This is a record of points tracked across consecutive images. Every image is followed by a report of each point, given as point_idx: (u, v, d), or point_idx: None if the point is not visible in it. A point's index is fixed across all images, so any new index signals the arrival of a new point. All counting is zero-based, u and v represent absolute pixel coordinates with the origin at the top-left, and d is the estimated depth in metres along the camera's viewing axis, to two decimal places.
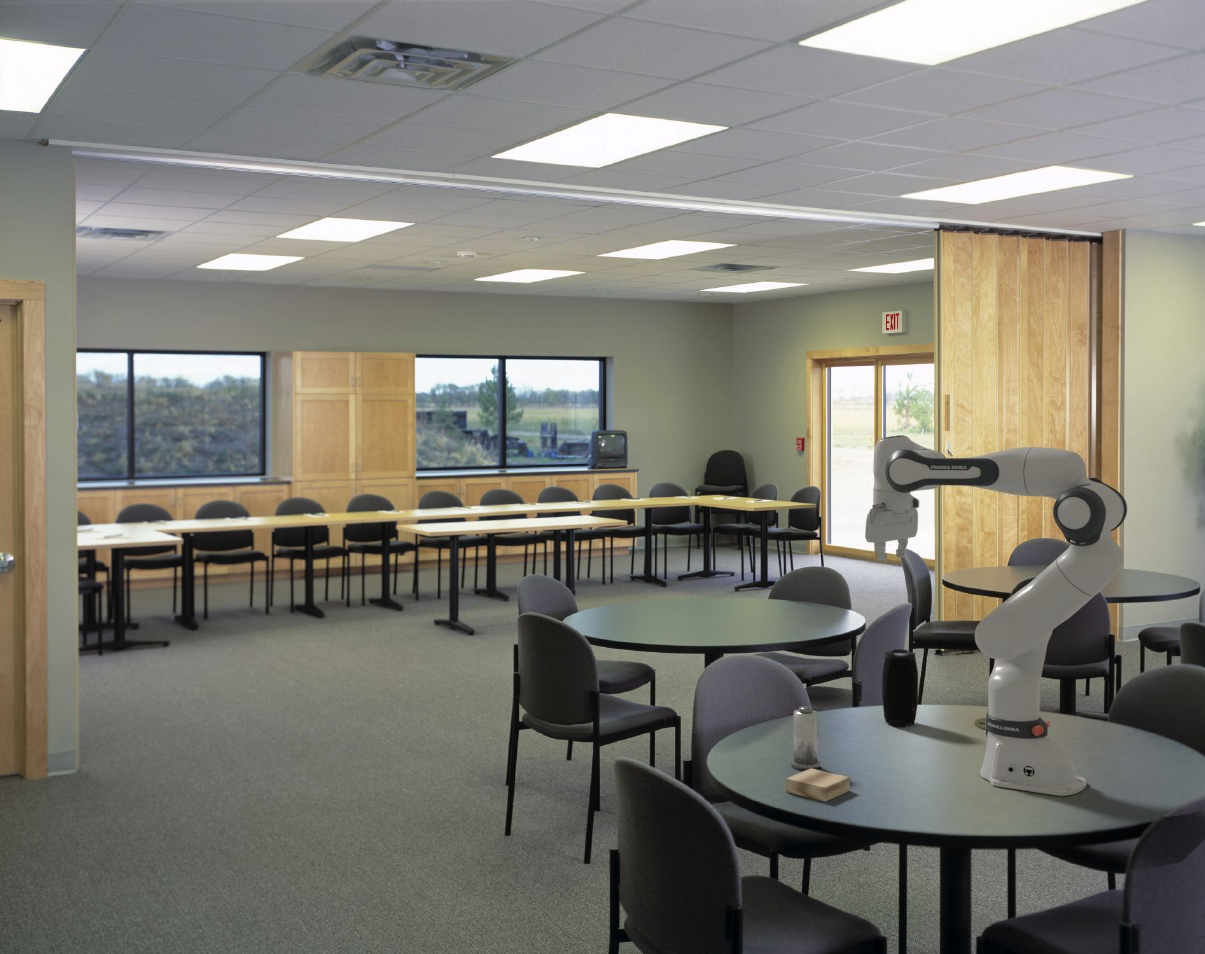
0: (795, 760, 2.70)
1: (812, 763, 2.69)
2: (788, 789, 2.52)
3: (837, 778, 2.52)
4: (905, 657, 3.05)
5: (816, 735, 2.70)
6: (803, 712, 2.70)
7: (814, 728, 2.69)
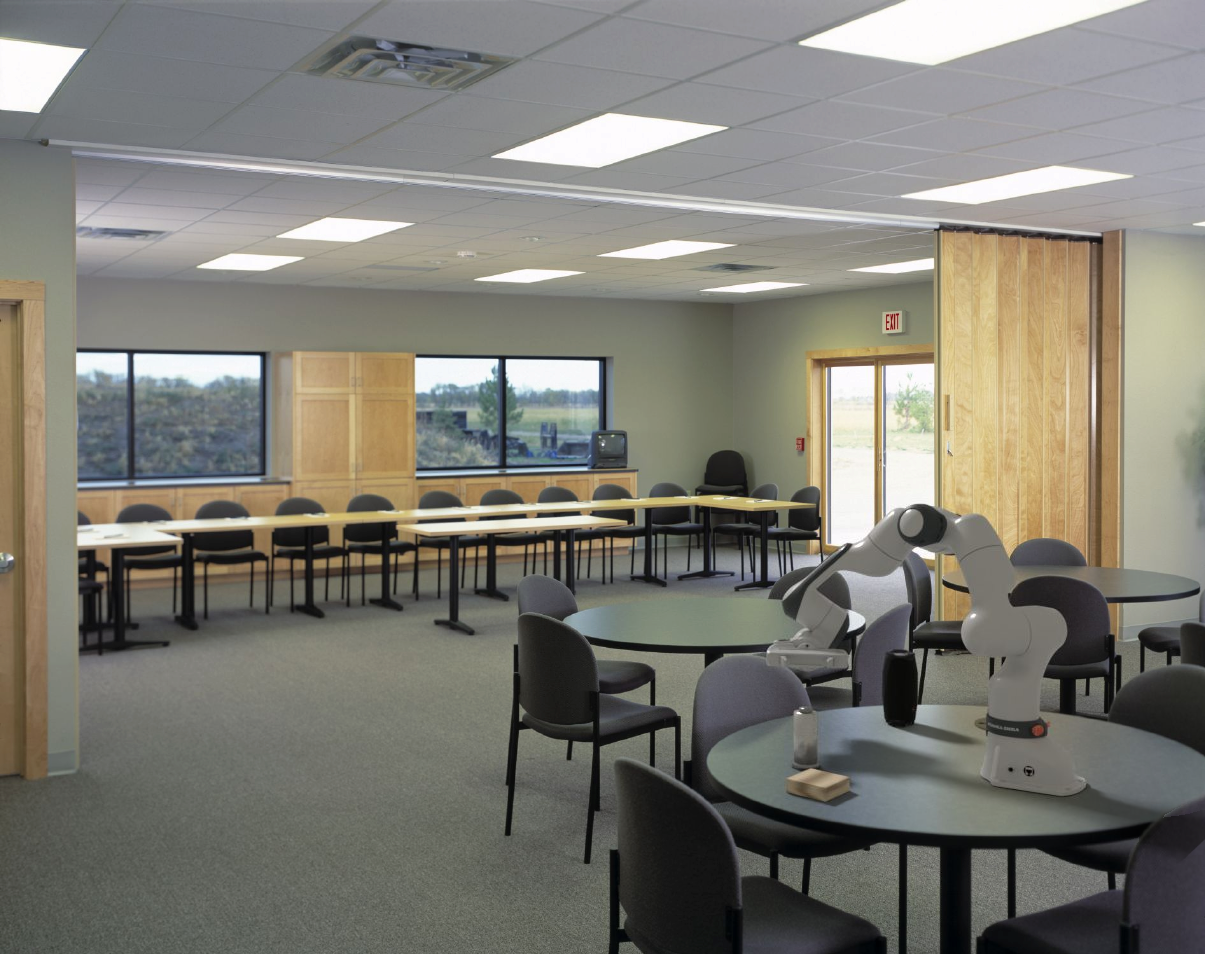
0: (795, 760, 2.70)
1: (812, 763, 2.69)
2: (788, 789, 2.52)
3: (837, 778, 2.52)
4: (905, 657, 3.05)
5: (816, 735, 2.70)
6: (803, 712, 2.70)
7: (814, 728, 2.69)
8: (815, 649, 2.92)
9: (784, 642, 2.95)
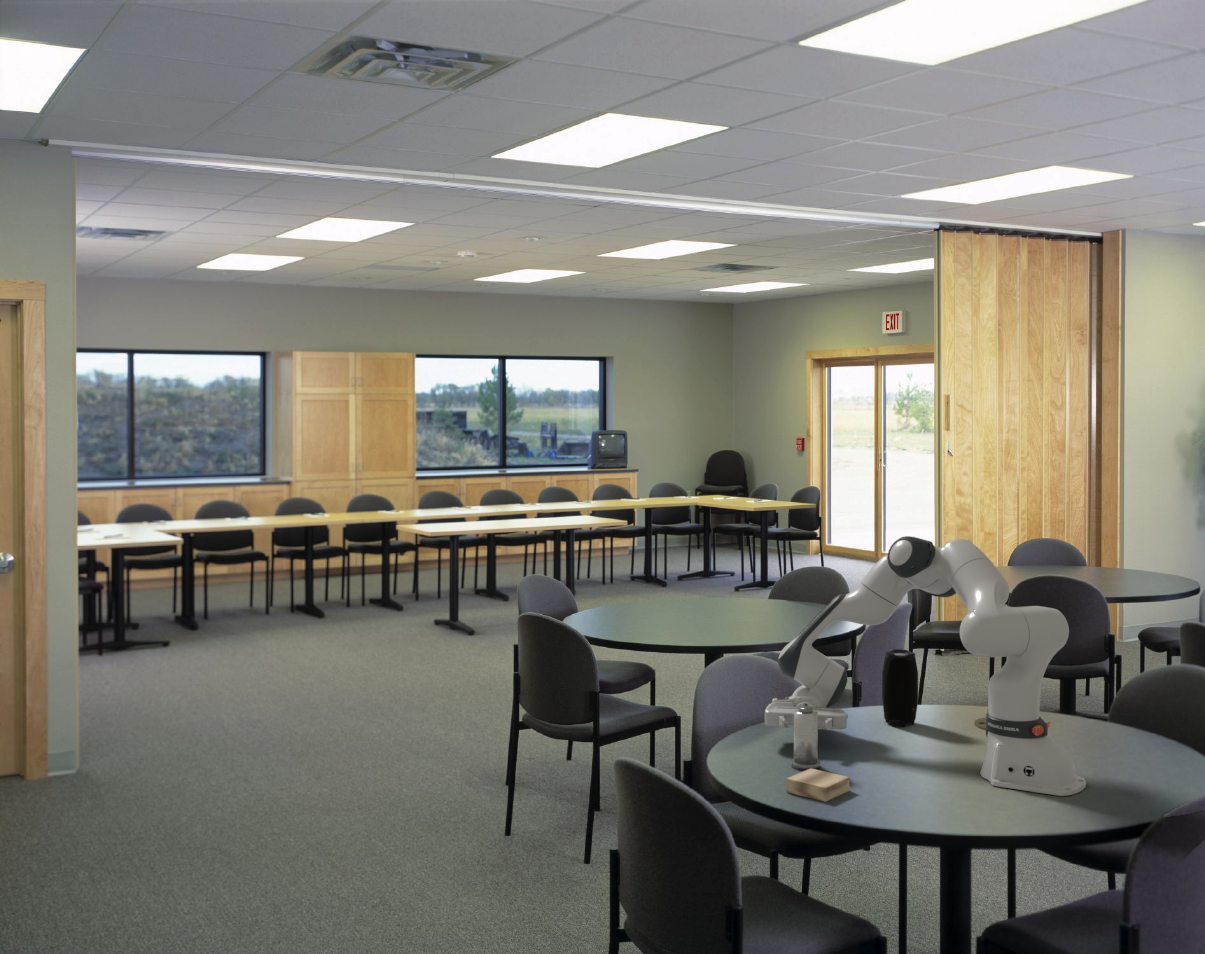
0: (795, 760, 2.70)
1: (812, 763, 2.69)
2: (788, 789, 2.52)
3: (837, 778, 2.52)
4: (905, 657, 3.05)
5: (816, 735, 2.70)
6: (803, 712, 2.69)
7: (814, 728, 2.69)
8: (814, 708, 2.89)
9: (783, 701, 2.93)
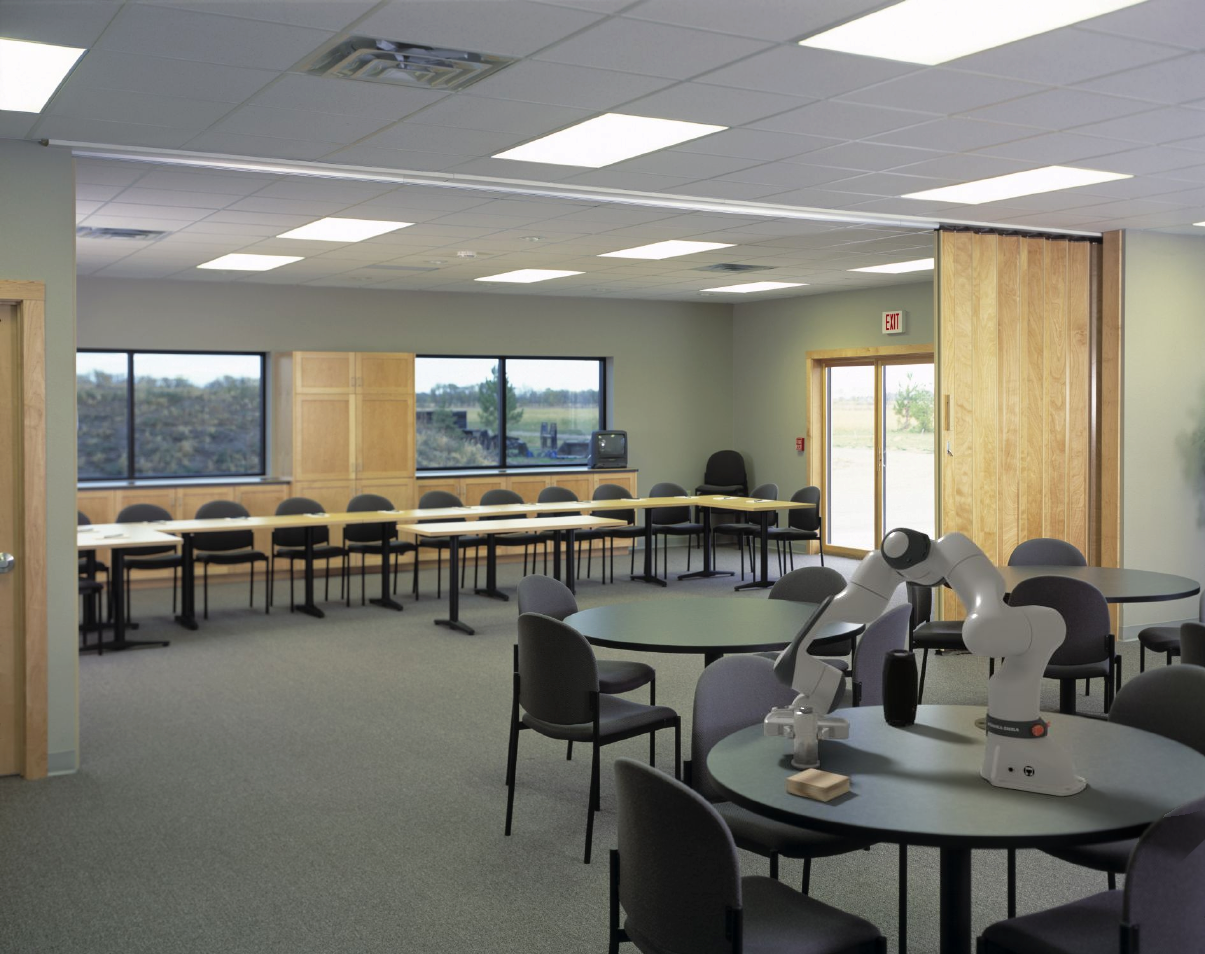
0: (795, 760, 2.70)
1: (812, 763, 2.69)
2: (788, 789, 2.52)
3: (837, 778, 2.52)
4: (905, 657, 3.05)
5: (816, 735, 2.70)
6: (803, 712, 2.70)
7: (814, 728, 2.69)
8: None
9: (782, 710, 2.83)
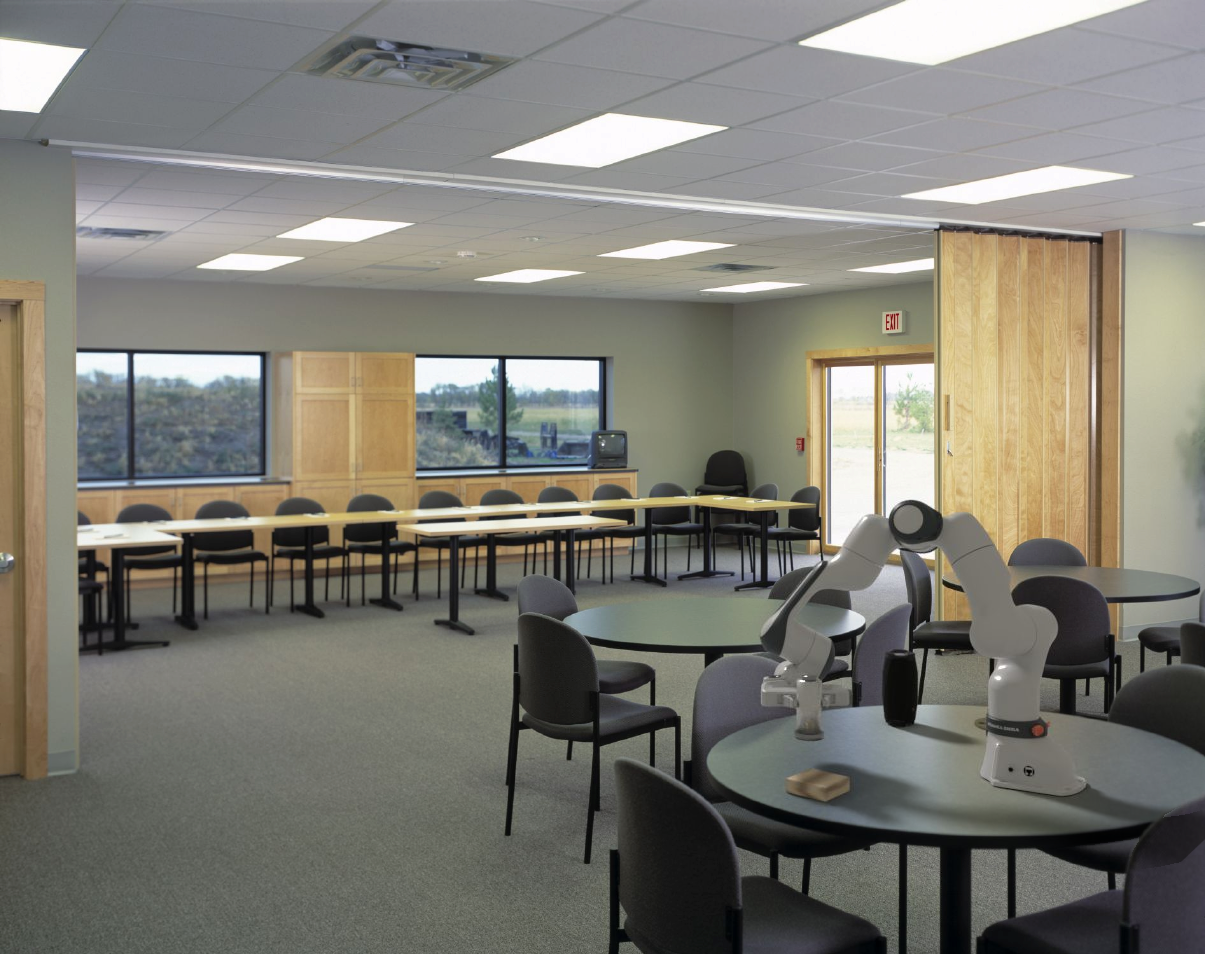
0: (799, 731, 2.59)
1: (818, 733, 2.58)
2: (788, 789, 2.52)
3: (837, 778, 2.52)
4: (905, 657, 3.05)
5: (821, 703, 2.59)
6: (808, 680, 2.58)
7: (820, 696, 2.58)
8: None
9: (776, 679, 2.71)
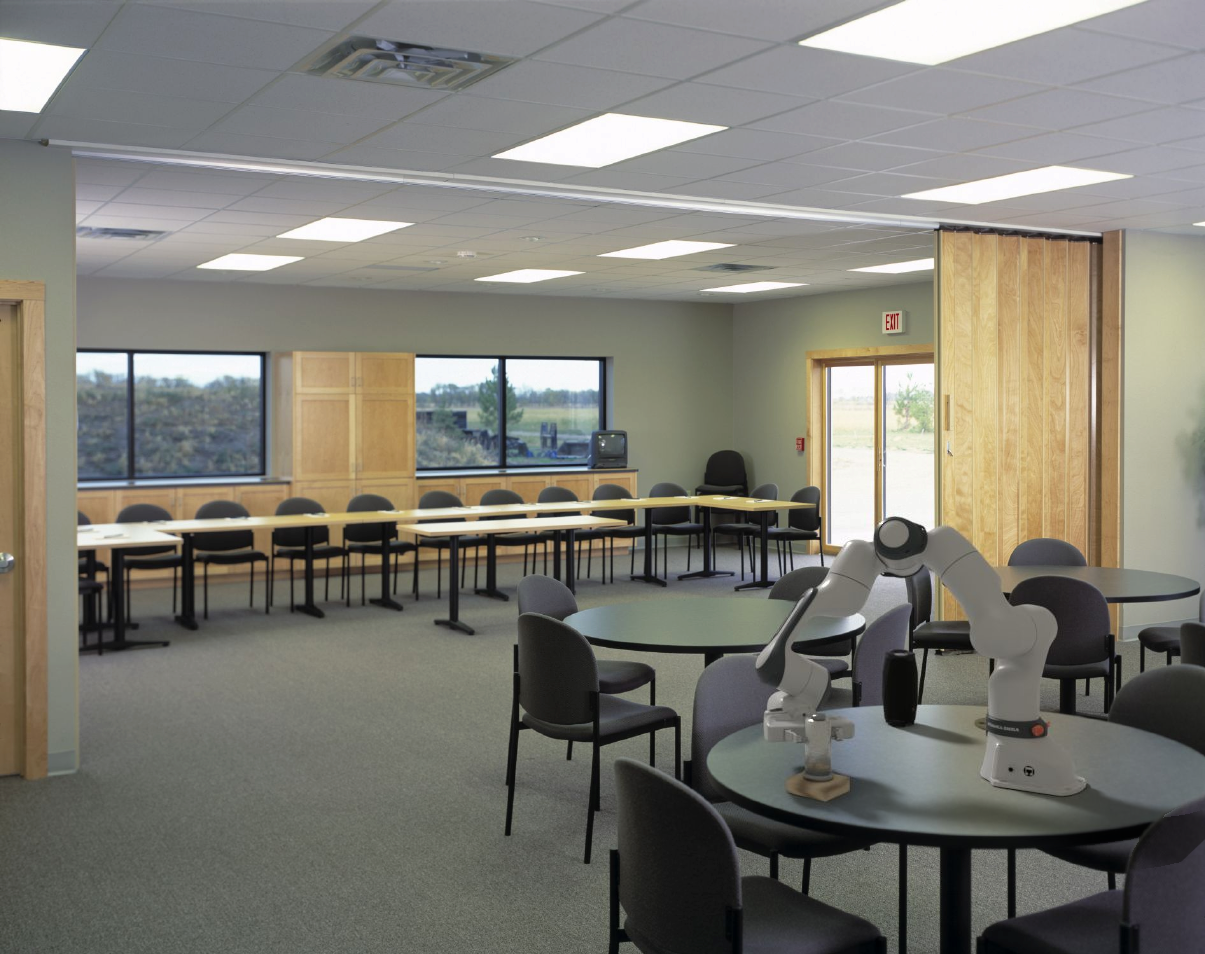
0: (809, 772, 2.51)
1: (828, 773, 2.51)
2: (788, 789, 2.52)
3: (837, 778, 2.52)
4: (905, 657, 3.05)
5: (830, 743, 2.52)
6: (818, 719, 2.51)
7: (830, 736, 2.51)
8: None
9: (778, 712, 2.63)
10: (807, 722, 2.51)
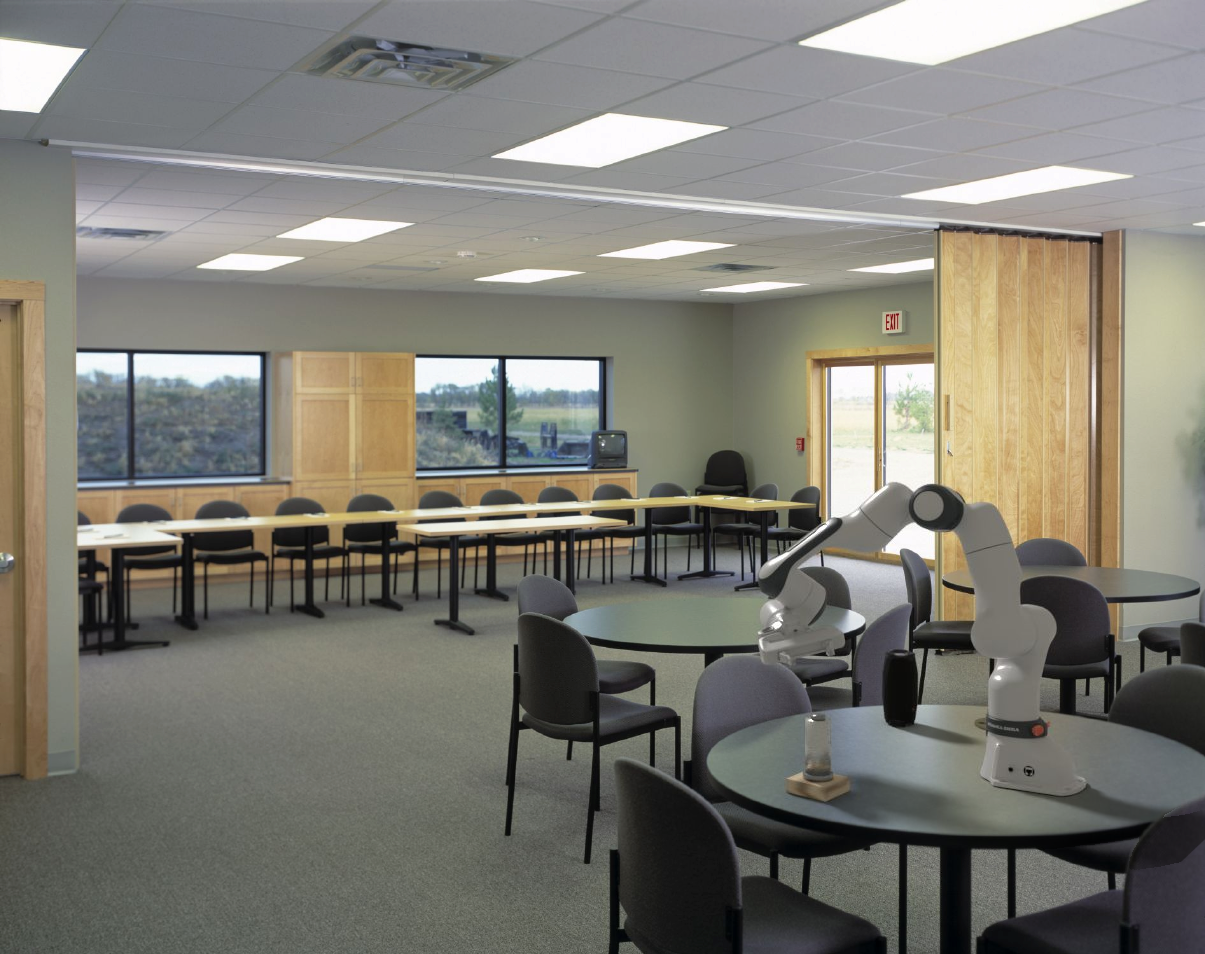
0: (809, 772, 2.51)
1: (828, 773, 2.51)
2: (788, 789, 2.52)
3: (837, 778, 2.52)
4: (905, 657, 3.05)
5: (830, 743, 2.52)
6: (818, 719, 2.51)
7: (830, 736, 2.51)
8: (804, 632, 2.74)
9: (770, 632, 2.75)
10: (807, 722, 2.51)
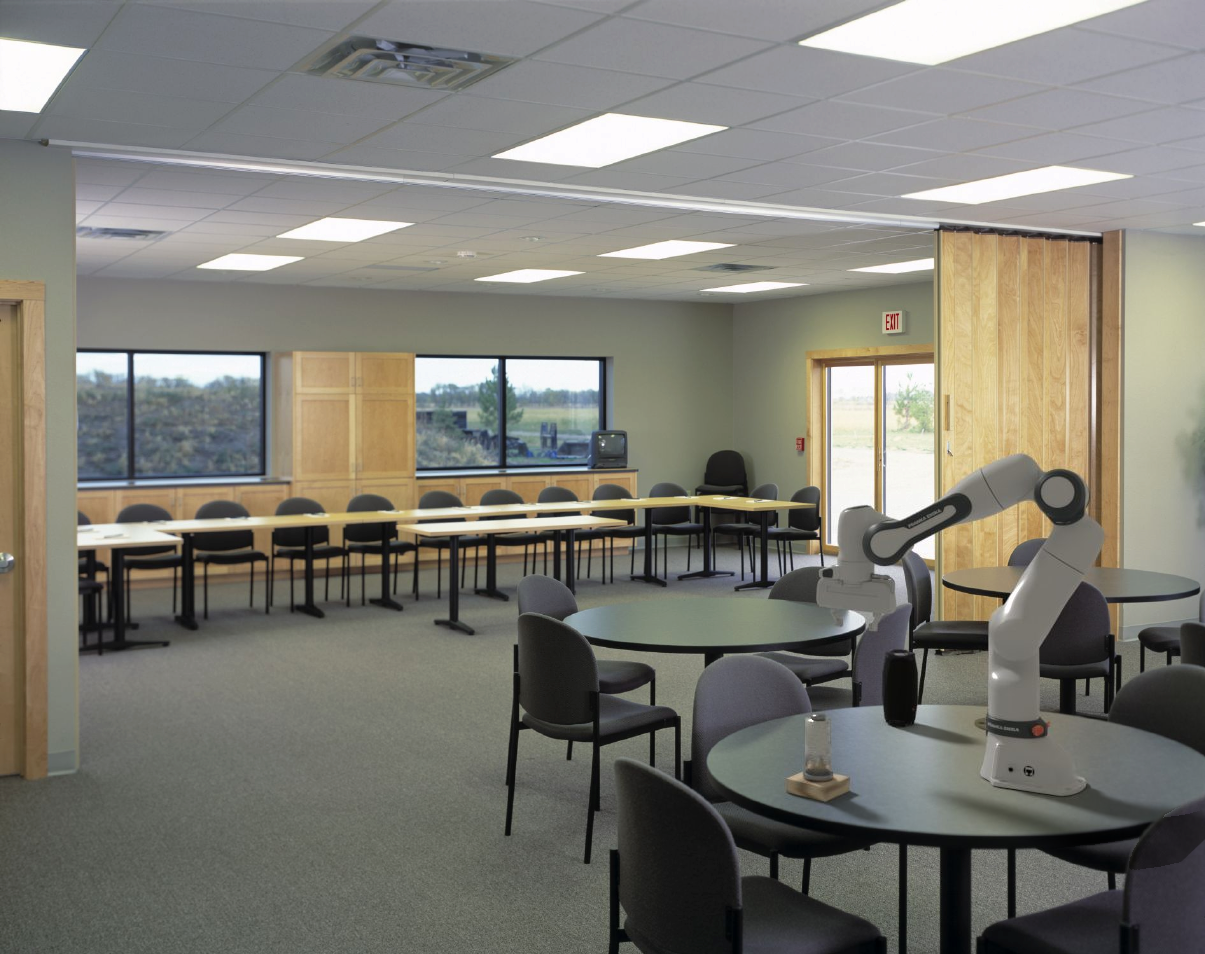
0: (809, 772, 2.51)
1: (828, 773, 2.51)
2: (788, 789, 2.52)
3: (837, 778, 2.52)
4: (905, 657, 3.05)
5: (830, 743, 2.52)
6: (818, 719, 2.51)
7: (830, 736, 2.51)
8: (859, 588, 2.76)
9: (828, 578, 2.80)
10: (807, 722, 2.51)
